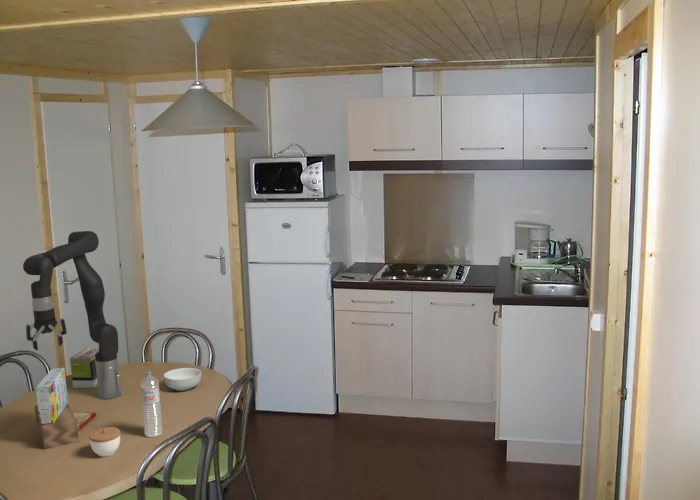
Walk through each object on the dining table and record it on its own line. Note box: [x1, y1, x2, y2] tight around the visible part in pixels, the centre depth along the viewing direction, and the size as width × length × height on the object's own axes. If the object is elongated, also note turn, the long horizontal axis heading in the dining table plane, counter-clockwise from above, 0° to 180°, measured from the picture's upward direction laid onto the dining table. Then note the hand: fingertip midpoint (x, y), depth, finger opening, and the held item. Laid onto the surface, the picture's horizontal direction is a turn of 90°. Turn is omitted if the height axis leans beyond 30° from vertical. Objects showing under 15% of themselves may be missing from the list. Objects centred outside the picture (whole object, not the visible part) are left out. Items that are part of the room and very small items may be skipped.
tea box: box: [69, 347, 99, 389], centre depth 327 cm, size 15×10×15 cm, turn 172°
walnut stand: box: [34, 403, 80, 450], centre depth 271 cm, size 12×26×8 cm, turn 30°
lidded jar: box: [88, 426, 121, 458], centre depth 253 cm, size 11×11×9 cm
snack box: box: [35, 367, 69, 425], centre depth 269 cm, size 21×6×15 cm, turn 8°
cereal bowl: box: [163, 367, 202, 392], centre depth 317 cm, size 17×17×7 cm
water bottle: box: [139, 371, 163, 438], centre depth 267 cm, size 7×7×25 cm
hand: (48, 347), depth 271 cm, fingers open, 8 cm apart
